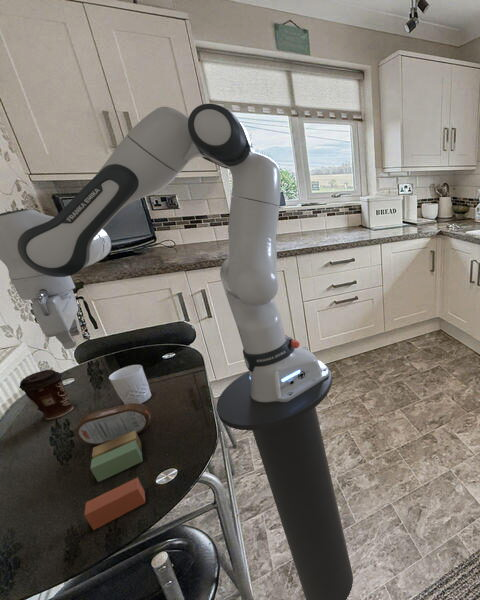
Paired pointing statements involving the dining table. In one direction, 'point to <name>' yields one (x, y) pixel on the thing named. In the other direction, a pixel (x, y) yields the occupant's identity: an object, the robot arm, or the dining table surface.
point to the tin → (113, 423)
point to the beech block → (116, 444)
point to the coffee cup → (47, 393)
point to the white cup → (131, 384)
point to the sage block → (116, 461)
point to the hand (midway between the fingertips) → (73, 340)
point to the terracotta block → (114, 503)
